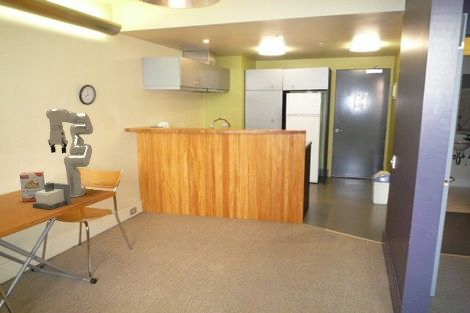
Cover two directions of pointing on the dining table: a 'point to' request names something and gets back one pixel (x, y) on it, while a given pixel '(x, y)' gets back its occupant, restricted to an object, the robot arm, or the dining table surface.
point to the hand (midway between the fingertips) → (58, 152)
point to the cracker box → (31, 185)
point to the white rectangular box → (50, 195)
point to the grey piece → (67, 202)
